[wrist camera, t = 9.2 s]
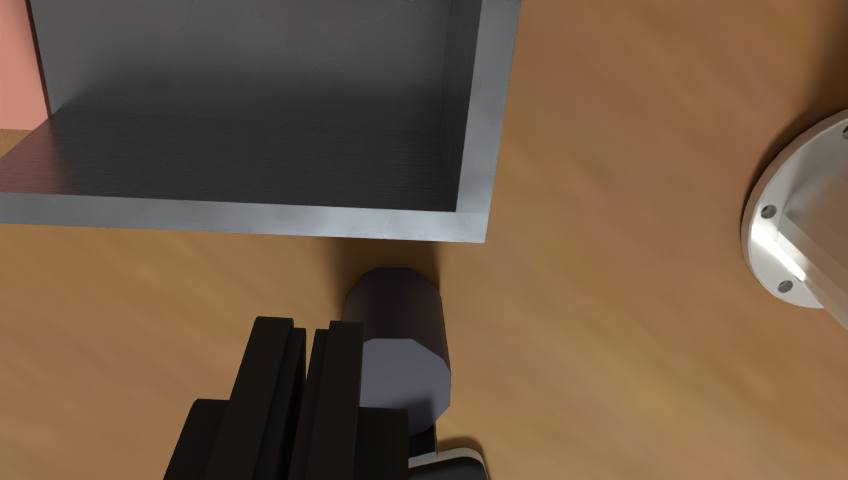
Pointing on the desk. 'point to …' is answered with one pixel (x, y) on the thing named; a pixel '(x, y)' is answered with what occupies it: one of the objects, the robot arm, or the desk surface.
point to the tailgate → (21, 69)
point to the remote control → (451, 466)
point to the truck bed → (267, 117)
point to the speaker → (403, 351)
